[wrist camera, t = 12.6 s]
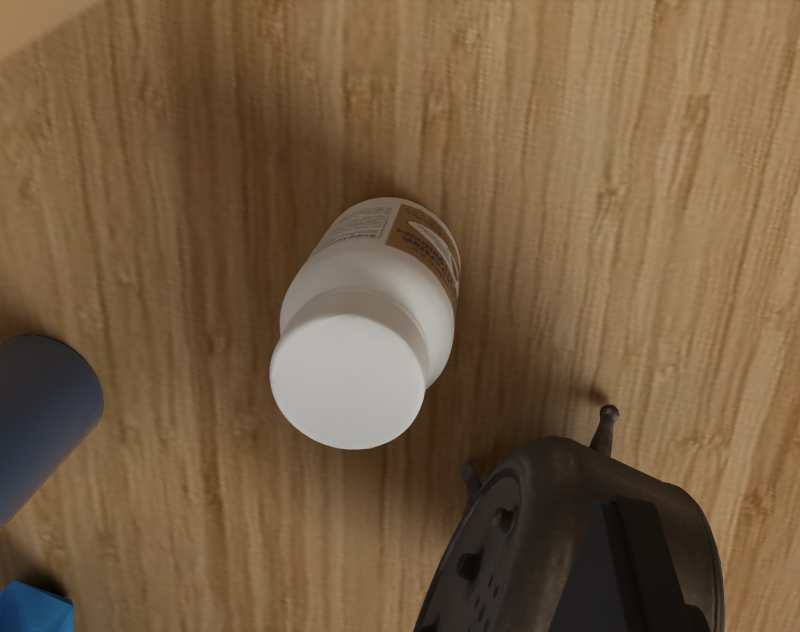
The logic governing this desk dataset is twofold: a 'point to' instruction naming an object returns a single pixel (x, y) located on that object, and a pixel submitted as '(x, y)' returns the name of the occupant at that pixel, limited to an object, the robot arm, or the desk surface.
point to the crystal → (34, 610)
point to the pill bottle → (367, 324)
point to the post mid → (41, 414)
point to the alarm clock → (555, 536)
